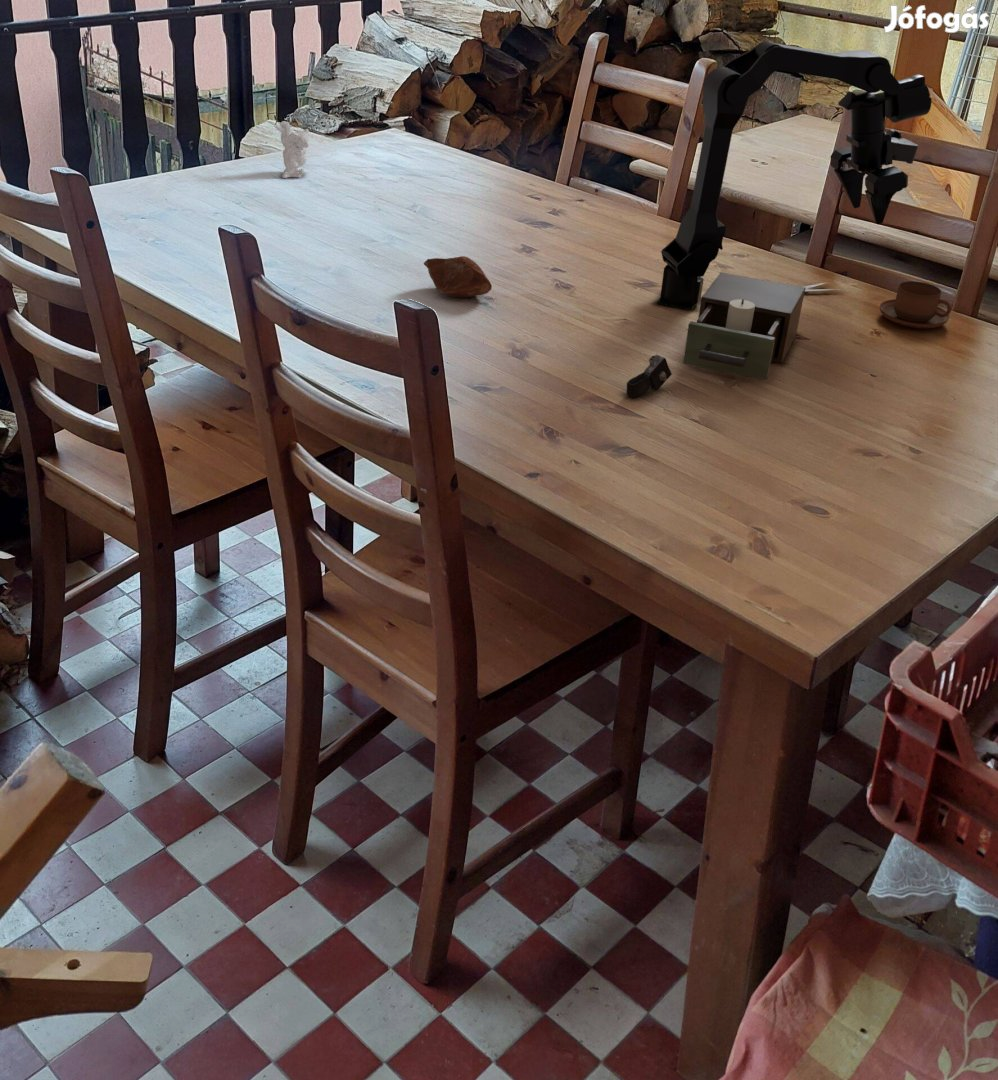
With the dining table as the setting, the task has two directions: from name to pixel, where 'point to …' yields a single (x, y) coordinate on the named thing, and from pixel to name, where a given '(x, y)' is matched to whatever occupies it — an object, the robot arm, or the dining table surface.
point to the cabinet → (760, 302)
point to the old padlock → (649, 377)
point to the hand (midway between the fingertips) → (867, 215)
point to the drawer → (733, 343)
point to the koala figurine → (293, 149)
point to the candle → (740, 315)
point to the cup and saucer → (916, 306)
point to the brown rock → (458, 277)
